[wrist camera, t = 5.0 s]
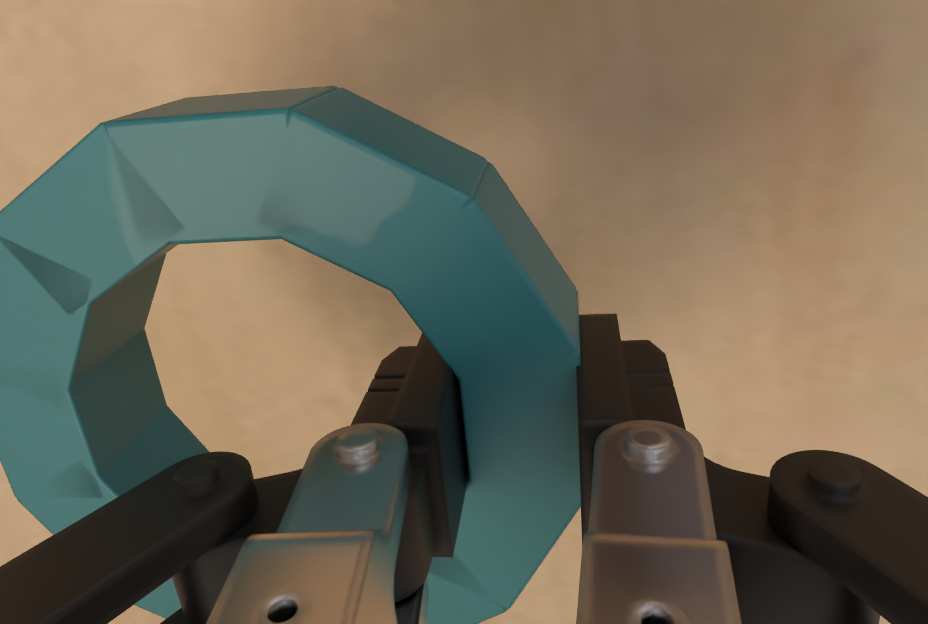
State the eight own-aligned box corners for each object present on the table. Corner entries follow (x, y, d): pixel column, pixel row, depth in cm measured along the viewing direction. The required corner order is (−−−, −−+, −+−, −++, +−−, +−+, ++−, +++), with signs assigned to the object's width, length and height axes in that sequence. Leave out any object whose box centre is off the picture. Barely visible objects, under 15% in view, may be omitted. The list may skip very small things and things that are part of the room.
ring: (139, 563, 17) (76, 650, 14) (-14, 113, 13) (-134, 140, 10) (586, 572, 15) (589, 671, 13) (570, 66, 11) (572, 85, 9)
